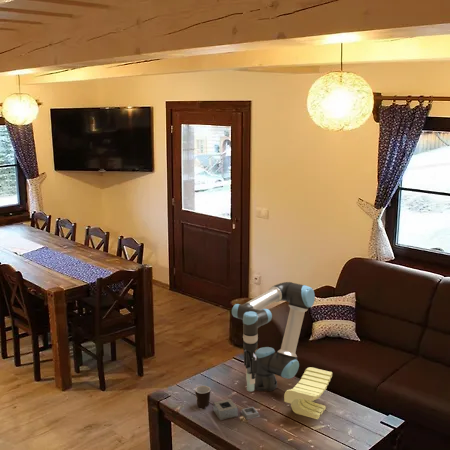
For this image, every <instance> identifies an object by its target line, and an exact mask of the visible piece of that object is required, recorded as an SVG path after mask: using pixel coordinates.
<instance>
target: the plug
mask: <svg viewBox="0 0 450 450" xmlns="http://www.w3.org/2000/svg"><path fill="white" fill-rule="evenodd" d="M249 372H251V370H250V367H248V368H247V380H246V391H248V392H255V389H254V384H250V373H249Z"/></svg>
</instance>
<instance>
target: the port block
mask: <svg viewBox="0 0 450 450" xmlns="http://www.w3.org/2000/svg"><path fill="white" fill-rule="evenodd" d="M212 404H213V405H212V407H213V410H212V411H213V412H214V413H215V415H216V416H217V418H218V420H220V421H222V420H227V419H228V420H229V419H232V418H235V417H236V418H237V417H238V415H239V414H238V406H237V405H236V404H235V403H234V402H233V400H232V399H231V398H228V399H223V400H218V401H214V402H213V403H212Z"/></svg>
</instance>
